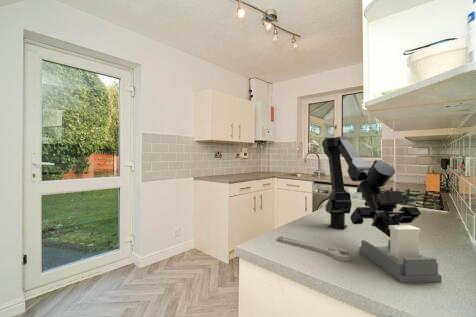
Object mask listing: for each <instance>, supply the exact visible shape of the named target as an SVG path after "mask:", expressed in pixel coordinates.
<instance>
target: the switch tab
mask: <svg viewBox="0 0 476 317" xmlns="http://www.w3.org/2000/svg"><path fill="white" fill-rule="evenodd" d="M389 229H390V237H389V240H390V256H391V257H393V258H394V259H396V260H398V261H399V262H401V263H402V264H403V258H419V254H420V234H421V233H422V230H421V228H419V227H416V226H414V225H411V224H399V225H389Z"/></svg>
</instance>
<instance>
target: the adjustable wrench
mask: <svg viewBox="0 0 476 317" xmlns="http://www.w3.org/2000/svg"><path fill="white" fill-rule="evenodd" d="M276 240H278V241H277V242H281V243H283V242H284V244H287V243H288V245H291V244H292V246H295V247H300V248H303V249H307V250H311V251H315V252H319V253H321V254H323V255H327V256H329V257H331V258H332V259H335V260H337V261H341V262H350V261H352V255H351V254H350V252H351V251H349V250H348V249H344V248H341V247H338V246H336V247H327V246H322V245H317V244H314V243H310V242H305V241H302V240H298V239H294V238H290V237H286V236H281V235H280V236H279V235H278V236H277V237H276Z"/></svg>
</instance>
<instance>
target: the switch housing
mask: <svg viewBox="0 0 476 317" xmlns="http://www.w3.org/2000/svg"><path fill="white" fill-rule="evenodd" d="M360 245H361V246H359V249H358V251H359V253H361V254H362V255H364V256H365V257H366V258H368V260H370V261H372V262H373V263H374V264H376V265H377V266H379V267H380V268H381V269H382V270H384V271H386V272H387V273H388V274H389V275H391V276H392V277H394V278H395V279H396V280H398V282H401V283H402V284H403V283H404V284H405V283H408V284H409V283H435V282H436V283H441V282H442V281H443V280H442V277H443V276H442V274H440V273H439V264H438V263H437V258H435V257H433V256H430V257H429V256H428V257H426V256H425V255H422V254H421V253H419V258H403V264H402V263H401V262H399V261H398V260H396V259H394V258H393V257H391V256H390V239H388V243H387V246H385V245H384V246H375V245H373V244H372V243H370V242H368V241H367V240H365V239H362V240H361V244H360Z"/></svg>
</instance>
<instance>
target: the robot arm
mask: <svg viewBox="0 0 476 317" xmlns="http://www.w3.org/2000/svg"><path fill="white" fill-rule="evenodd" d="M350 139H351V138H350V137H348V136H336V137H325V138H324V139H323V140H322V142H321V147H322V148H323V149H322V150H323V153H324V154H325V155H326V157H327V158H328V166H329V167H328V168H329V174H330V183H331V191H330V193H329V195H328V201H327V203H326V205H325V207H324V208H325V212H326V213H328V214H330V216H329V220H330V223H329V224H328V225H327V227H328V228H330V229H336V230H337V229H338V230H342V231H343V230H346V228H347V227H348V224H345V223H346V222H345V221H346V217H345V216H346V214H348V215H349V214H350V213H351V215H350V221H351V223H352V224H353V225H362V224H363V223H364V219H367V220H368V219H371V220H372V223H371V226H372V227H375V228H376V229H378V230H379V231H380V232H382V233H383V234H385V235H386V236H387V237H388V238H390V229H389V225H405V224H411V223H413V222H414V221H415V220H416V219H417V218H419V216H421V215H422V213H421V211H420V210H419V208H418V207H416V206H402V207H401V208H400V209H399V210H396V209H397V208H398V205H399V204H404V203H405V202H406V201H408V199H409V196H408V194H407V192H406V191H405V190H404V189H397V190H393V191H391V190H390V191H383V190H382V188H383V187H385V186H386V185H387V183H388V182H389V181H390V180H391V178H393V176H394V175H395V173H396V171H395V168H394V167H393V166H392V165H390V164H389V163H386V162H384V161H383V160H382V159H374V162H373V163H372V164H370V163H369V162H368V161H367V160H364V159H362V158H361V156H360V155H359V153H358V151H357V150H356V149H355V147H354V146H353V144H352V142H351V140H350ZM341 156H342V157H343V159H344V160H345V163H346V164H347V166H348V167H347V173H348V177H349V179H350V180H351V181H352V182H360V183H359V184H358V186H357V188H356V193H361V195H362V196H363V198H364V201H365V202H364V203H363V204H364V206H365V207H364V206H362V207H361V206H359V207H358V206H357V207H356V208H355V209H354V211H353V212H351V210H352V206H353V203H352V198H351V193H350V192H348V191H347V190H346V189H345V184H344V183H345V182H344V177H343V169H342V168H343V167H342V162H341V161H342V160H341ZM395 210H396V211H395Z"/></svg>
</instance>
